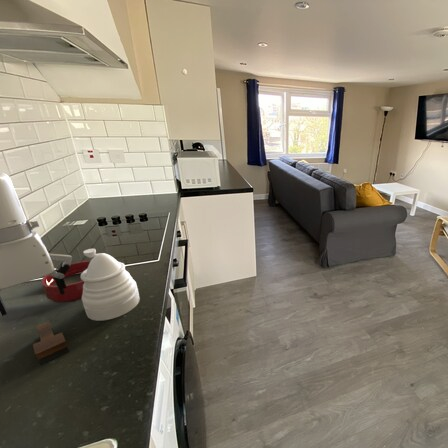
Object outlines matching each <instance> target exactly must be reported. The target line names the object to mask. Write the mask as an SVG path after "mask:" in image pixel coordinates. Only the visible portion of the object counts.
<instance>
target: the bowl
mask: <svg viewBox="0 0 448 448" xmlns="http://www.w3.org/2000/svg"><path fill="white" fill-rule="evenodd" d="M90 261H91V260H83V261H82V260H81V261H77V262H73V263H71V265H70V268H69V270H68V271H67V272H66V274H65V275H64V278H63V279H66V278H68V277H71V276H75V275H78V274H82V272H83V271H85V270H86V269H88V266H89V263H90ZM59 268H60V267H57V269H59ZM40 282H41V285H42V288H43V290H44V292H45V296H46V298H47V299H48V300H50V301H52V302H55V303H66V302H73V301H77V300H82V294H83V284H84V283H85V282H84V281H82V280H80V281H76V282H74V283H69V284H66V287H67V288H65V289H63V290H64V292H65V294H60V292H59V290H58V287H57V285H55V284H56V282H55V279H54V277H53V276H50V275H47V276H44V277H42V279H41V281H40Z"/></svg>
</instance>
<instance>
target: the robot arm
mask: <svg viewBox="0 0 448 448" xmlns="http://www.w3.org/2000/svg"><path fill="white" fill-rule="evenodd" d="M39 227H40V224H39V222H38V220H36V221H32V220H31V221H30V220H28V219H27V217H26V214H25V211H24V209H23V206H22V204H21V202H20V199H19V196H18V194H17V191H16V189H15V186H14V184H13V181H12V178H11V177H10V176H9V175H8V174H7V173H6V172H3V171H0V292H1V291H2V290H4V289H8V288H12V287H15V286H18V285H22V284H25V283H28V282H32V281H35V280H38V279H41V278H43V277H44V276H47V275H50V276H53V277H54V279H55V282H56V283H55V284H56V285H55V286H57V287H58V290H59V292H60V294H65V292H64V290H63V289H65V288H67V287H66V285H67V284H66V282H65V280H64V279H65V278H64V275H65V274H66V272H67V271H68V270H69V268H70V265H71V264H72V261H73V256H72V255H71V254H62V253H61V254H60V253H49V251H48V250H47V247H46V245H45V242H44V241H43V240H42V238H41V236H40V235H39V234H38V232H37V231H36V230H34V229H36V228H39ZM53 261H56V262H58V261H59V262H62V264H61V266H60V267H58V268H59V269H58V268H57V267H55V266H54V263H53ZM0 314H1V316H6V315H7V314H8V311H7V307H6V306H5V303H4V301H3V299H2V297H1V296H0Z"/></svg>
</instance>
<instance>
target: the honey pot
mask: <svg viewBox="0 0 448 448" xmlns="http://www.w3.org/2000/svg"><path fill="white" fill-rule="evenodd" d="M82 253H83V255H84V256H85V257H87V258H89V259H90V260H89V261H90V263H89V266H88V269H86V270H85V271H83V272H82V273H80V277H79V278H80V281H84V282H85V283H84V284H83V294H82V298H81V302H82V306H83V309H84V311H85V315H86V316H87V318H88V319H90V320H91V321H108V320H113V319H116V318H119V317H121V316H124V315H125V314H127V313H129V312H130V311H132V310H133V309H135V308H136V307H137V305H138V304H139V303H140V300H141V297H140V293H139V288H138V285H137V282H136V281H135V279H133V277H132V276H131V274H130V272H129V271H127V269H126V265H125V263H124V262H121V261H118V260H117V259H116V258H115V257H113V256H112V255H110V254H108V253H104V252H100V253H97V250H96V248H88V249H85V250H83V252H82Z"/></svg>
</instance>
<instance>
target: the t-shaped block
mask: <svg viewBox="0 0 448 448" xmlns="http://www.w3.org/2000/svg"><path fill="white" fill-rule="evenodd" d="M36 330H37V333H38V336H39V339H40V341H38V342H36V343H34V344H32V347H33V351H34V355H35V358H36V359H37V360H38V362H39V364H40V365H41V366H42V365H44V364H46V363H48V362H50V361H53V360H54V359H57V358H58V357H61V356H63V355H66V354H67V353H70V350H69V348H68V344H67V341H66V339H65V336H64V334H63V332H62V331H61V332H59V333H57V334H54V331H53V329H52V327H51V324H50V322H49V321H46V322H43V323H40V324H38V325H36Z"/></svg>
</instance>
